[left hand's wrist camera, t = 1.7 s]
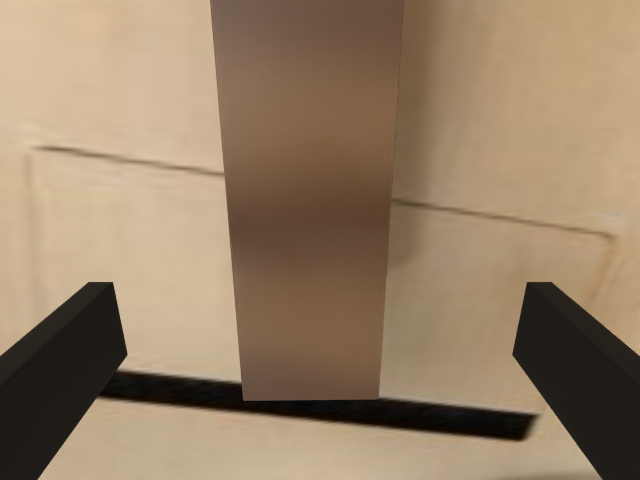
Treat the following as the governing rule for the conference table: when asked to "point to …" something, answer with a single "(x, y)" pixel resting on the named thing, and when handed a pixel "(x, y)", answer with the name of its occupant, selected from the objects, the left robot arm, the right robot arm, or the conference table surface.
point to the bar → (308, 188)
